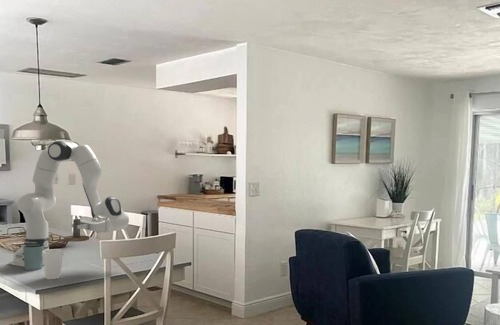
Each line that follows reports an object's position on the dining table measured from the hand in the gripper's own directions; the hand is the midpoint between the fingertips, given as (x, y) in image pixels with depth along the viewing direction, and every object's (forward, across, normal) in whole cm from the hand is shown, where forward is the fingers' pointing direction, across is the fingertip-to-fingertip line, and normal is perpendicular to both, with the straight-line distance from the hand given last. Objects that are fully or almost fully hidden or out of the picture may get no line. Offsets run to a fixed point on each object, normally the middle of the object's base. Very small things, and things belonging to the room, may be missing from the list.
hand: (74, 226), depth 239 cm
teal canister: (+6, -30, +25) cm, 40 cm away
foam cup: (+9, -4, +25) cm, 27 cm away
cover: (-1, 0, +7) cm, 7 cm away
